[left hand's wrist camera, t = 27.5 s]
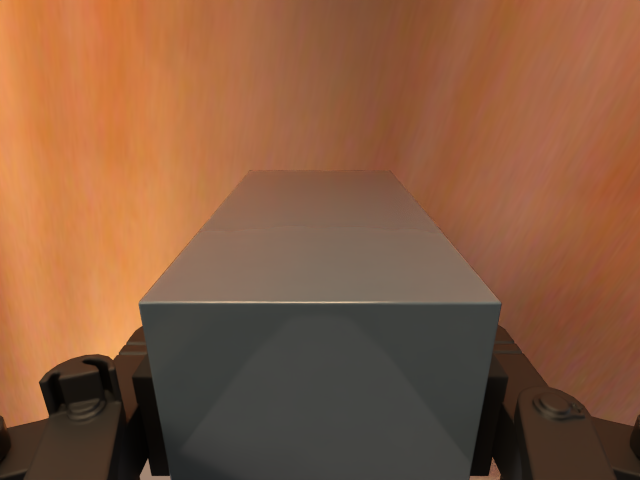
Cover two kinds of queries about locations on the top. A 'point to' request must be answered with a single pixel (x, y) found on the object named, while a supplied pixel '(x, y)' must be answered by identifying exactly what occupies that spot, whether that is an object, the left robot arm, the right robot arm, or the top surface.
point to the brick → (320, 336)
